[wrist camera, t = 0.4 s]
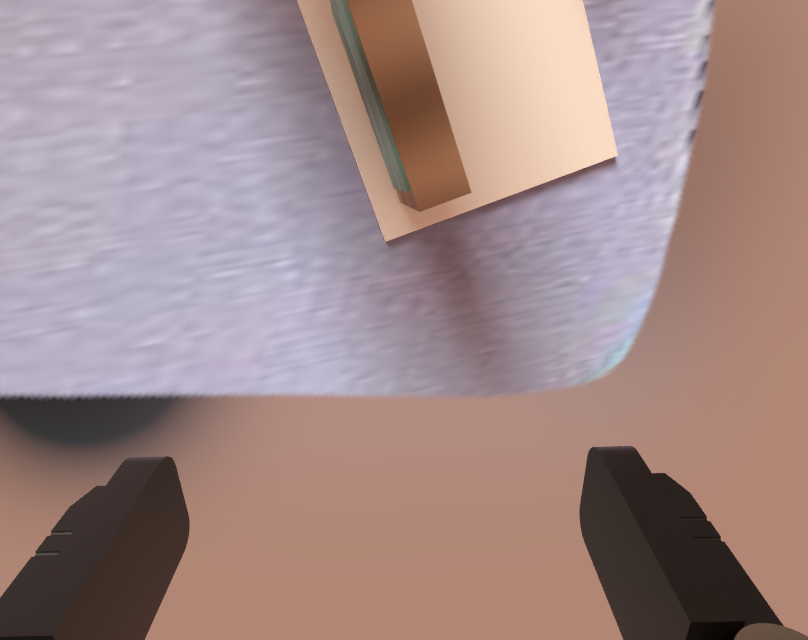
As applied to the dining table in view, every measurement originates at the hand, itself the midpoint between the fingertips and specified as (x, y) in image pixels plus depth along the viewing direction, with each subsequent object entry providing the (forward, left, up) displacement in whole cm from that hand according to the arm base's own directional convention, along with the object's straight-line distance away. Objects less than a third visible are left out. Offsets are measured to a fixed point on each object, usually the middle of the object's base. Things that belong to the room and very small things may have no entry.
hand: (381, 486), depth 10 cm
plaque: (-9, +5, -25) cm, 27 cm away
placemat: (-9, +10, -26) cm, 29 cm away
